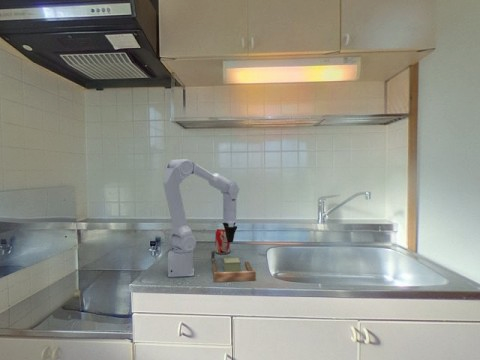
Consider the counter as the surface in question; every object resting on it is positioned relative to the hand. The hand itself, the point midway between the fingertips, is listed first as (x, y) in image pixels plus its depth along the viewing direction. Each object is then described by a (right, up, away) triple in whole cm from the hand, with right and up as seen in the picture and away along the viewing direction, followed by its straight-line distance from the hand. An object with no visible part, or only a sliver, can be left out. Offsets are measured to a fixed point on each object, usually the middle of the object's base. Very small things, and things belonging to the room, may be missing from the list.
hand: (229, 240), depth 135 cm
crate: (+1, -10, -9) cm, 14 cm away
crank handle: (-7, -9, +3) cm, 12 cm away
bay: (+2, -10, -12) cm, 16 cm away
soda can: (-4, -9, +15) cm, 18 cm away
